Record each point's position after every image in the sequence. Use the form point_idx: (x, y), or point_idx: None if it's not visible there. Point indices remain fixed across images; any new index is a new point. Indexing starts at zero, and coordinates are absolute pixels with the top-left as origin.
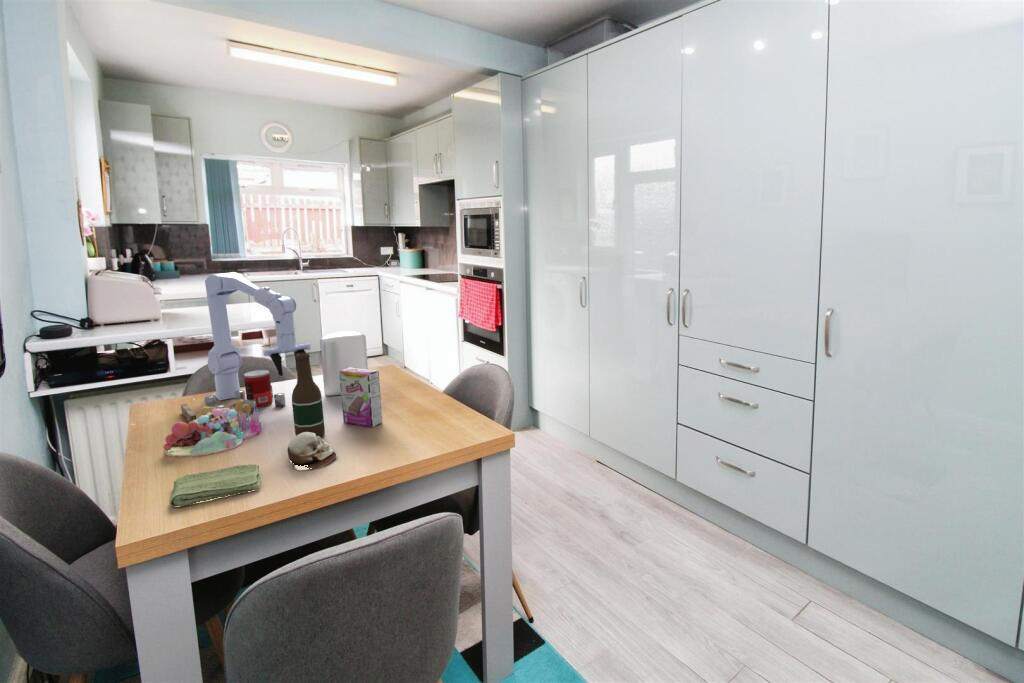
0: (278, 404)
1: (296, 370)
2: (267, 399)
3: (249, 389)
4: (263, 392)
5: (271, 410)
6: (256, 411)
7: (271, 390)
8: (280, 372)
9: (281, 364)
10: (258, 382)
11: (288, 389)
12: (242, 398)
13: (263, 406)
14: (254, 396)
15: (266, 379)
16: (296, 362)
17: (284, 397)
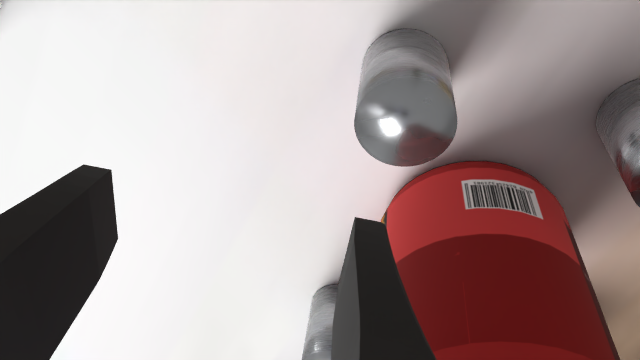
0: (440, 53)
1: (110, 254)
2: (461, 188)
3: (605, 322)
4: (503, 235)
5: (529, 17)
6: (625, 86)
7: None
8: (388, 255)
9: (361, 357)
10: (562, 330)
11: (179, 337)
12: None
13: (494, 163)
14: (568, 245)
15: (463, 335)
16: (35, 348)
17: (372, 74)
